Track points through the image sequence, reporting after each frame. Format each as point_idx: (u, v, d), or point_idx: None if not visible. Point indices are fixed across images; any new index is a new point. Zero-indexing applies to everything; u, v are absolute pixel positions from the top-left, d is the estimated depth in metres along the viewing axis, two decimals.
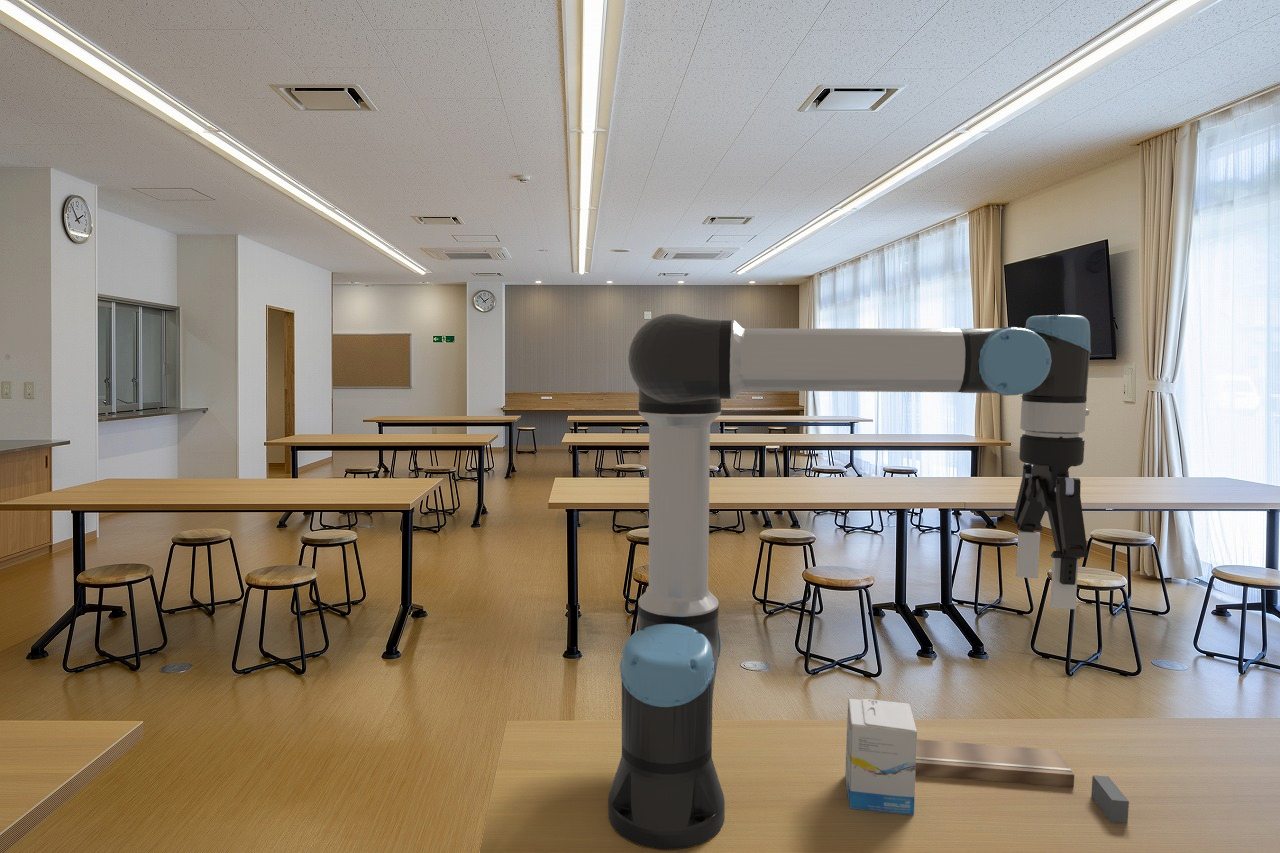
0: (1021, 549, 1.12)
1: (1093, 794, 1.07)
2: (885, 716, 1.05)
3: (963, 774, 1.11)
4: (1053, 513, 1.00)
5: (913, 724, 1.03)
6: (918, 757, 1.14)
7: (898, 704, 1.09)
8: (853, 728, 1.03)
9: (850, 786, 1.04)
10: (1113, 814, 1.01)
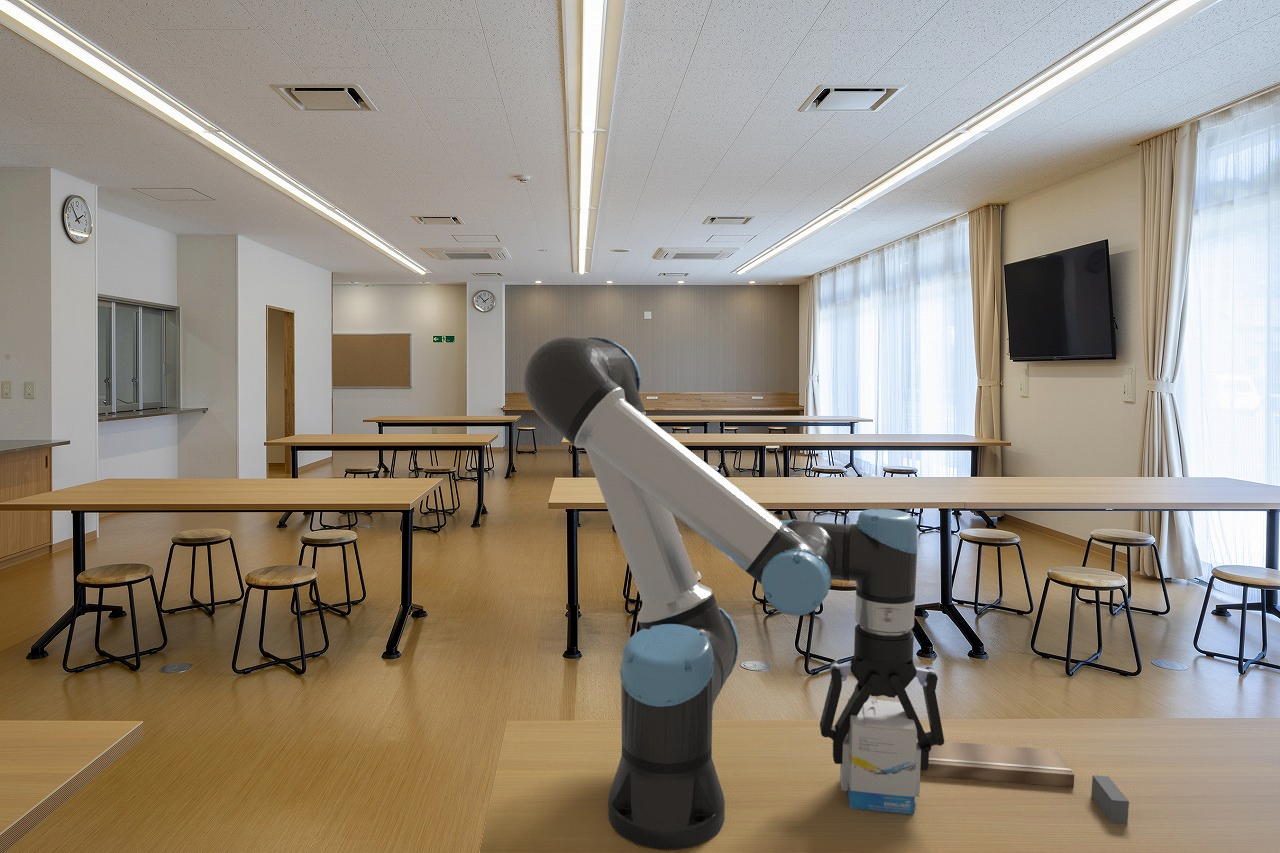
0: None
1: (1093, 794, 1.07)
2: (885, 716, 1.05)
3: (963, 774, 1.11)
4: (851, 696, 1.08)
5: (913, 724, 1.03)
6: None
7: (898, 704, 1.09)
8: (853, 728, 1.03)
9: (850, 786, 1.04)
10: (1113, 814, 1.01)
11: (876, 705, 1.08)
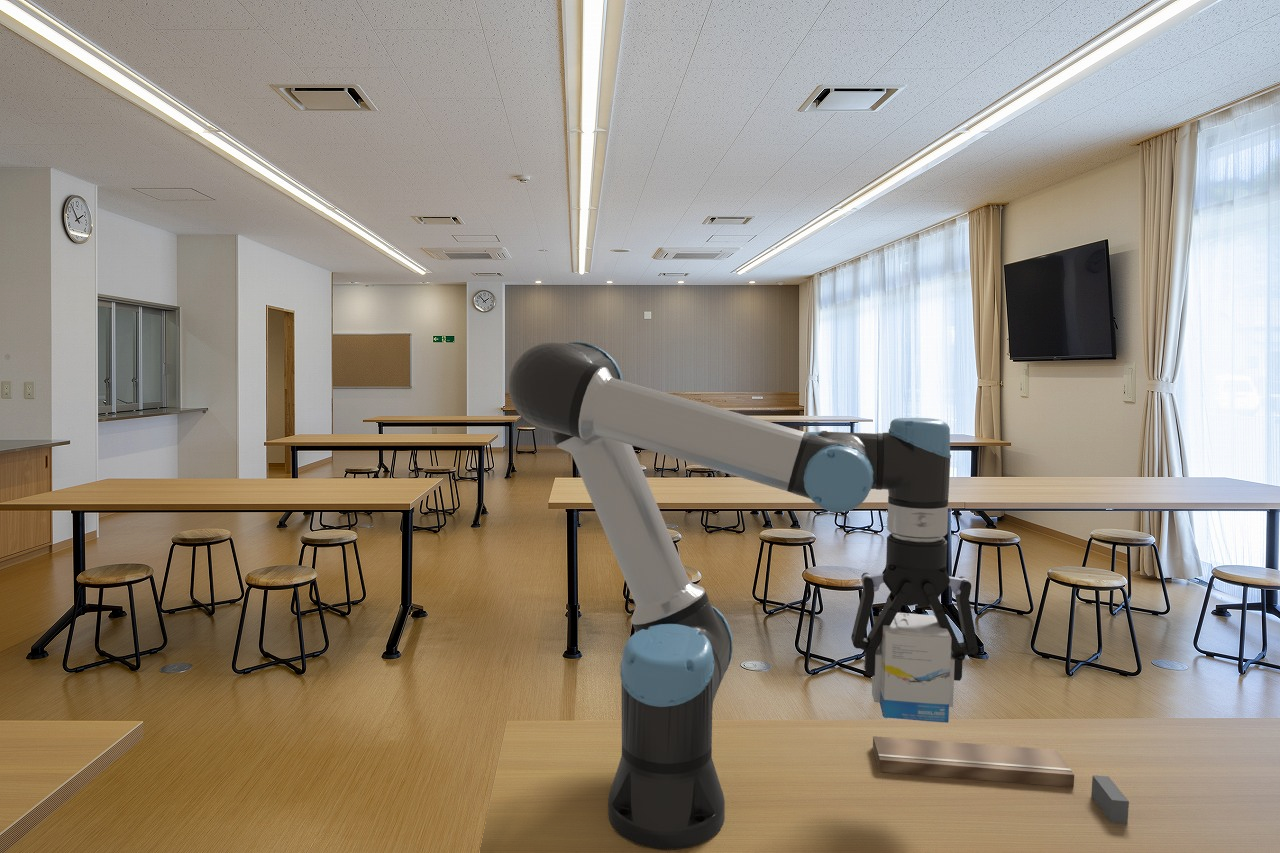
0: None
1: (1093, 794, 1.07)
2: (918, 625, 1.04)
3: (963, 774, 1.11)
4: (883, 608, 1.07)
5: (947, 631, 1.03)
6: (918, 757, 1.14)
7: (930, 616, 1.08)
8: (886, 636, 1.02)
9: (883, 695, 1.03)
10: (1113, 814, 1.01)
11: (908, 617, 1.08)
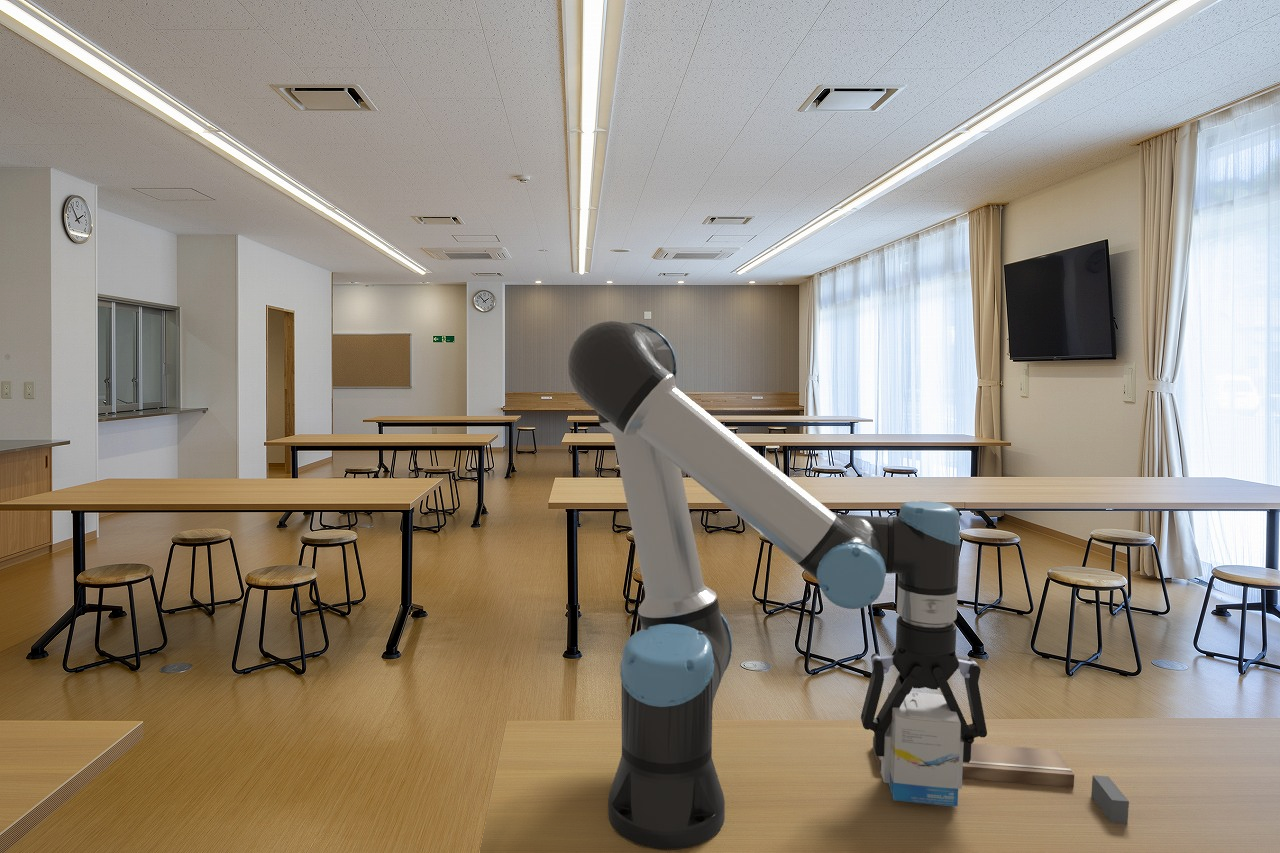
0: None
1: (1093, 794, 1.07)
2: (927, 708, 1.05)
3: (963, 774, 1.11)
4: (893, 688, 1.08)
5: (956, 716, 1.03)
6: None
7: (939, 696, 1.09)
8: (896, 720, 1.03)
9: (893, 778, 1.04)
10: (1113, 814, 1.01)
11: (917, 697, 1.08)
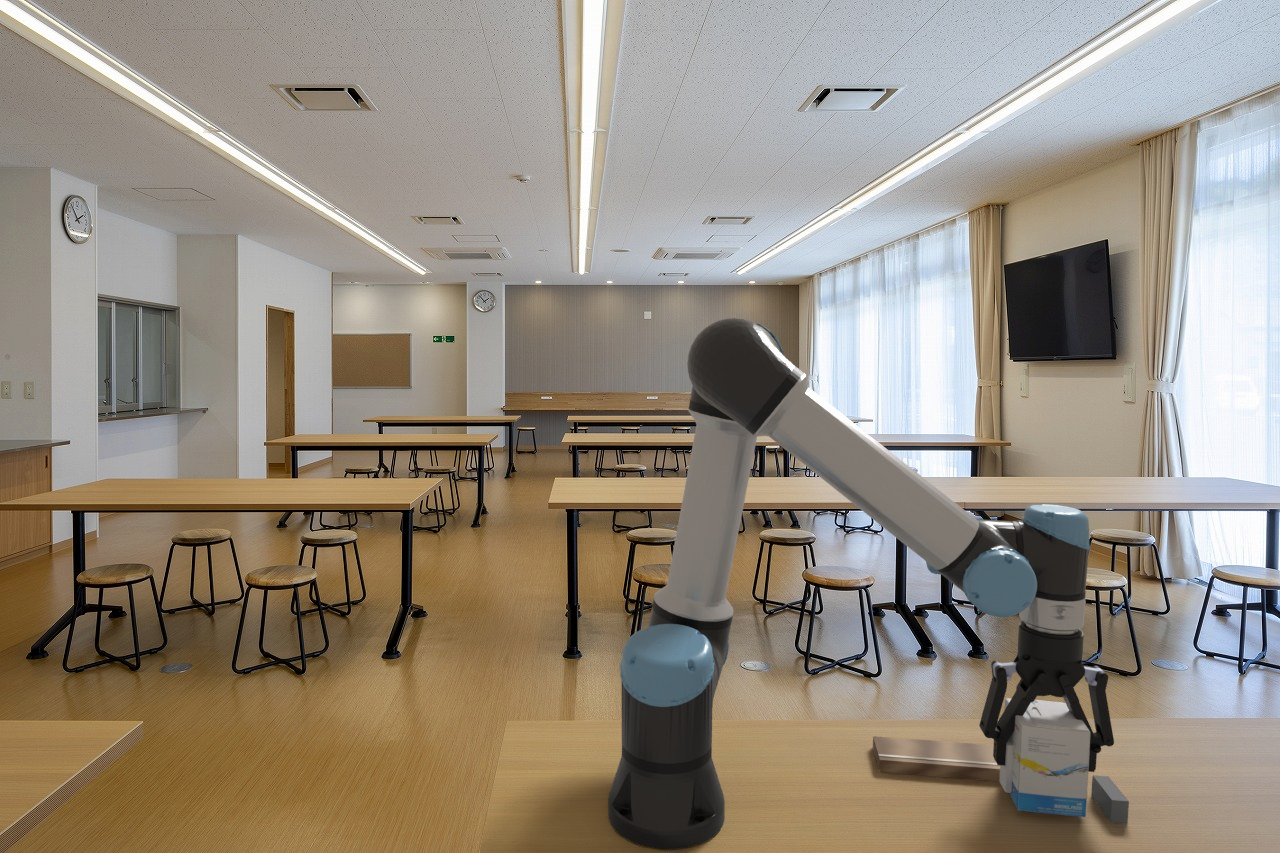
0: None
1: (1093, 794, 1.07)
2: (1052, 716, 1.03)
3: (963, 774, 1.11)
4: (1013, 696, 1.05)
5: (1083, 724, 1.01)
6: (918, 757, 1.14)
7: (1059, 704, 1.07)
8: (1023, 728, 1.01)
9: (1018, 787, 1.02)
10: (1113, 814, 1.01)
11: (1038, 705, 1.06)
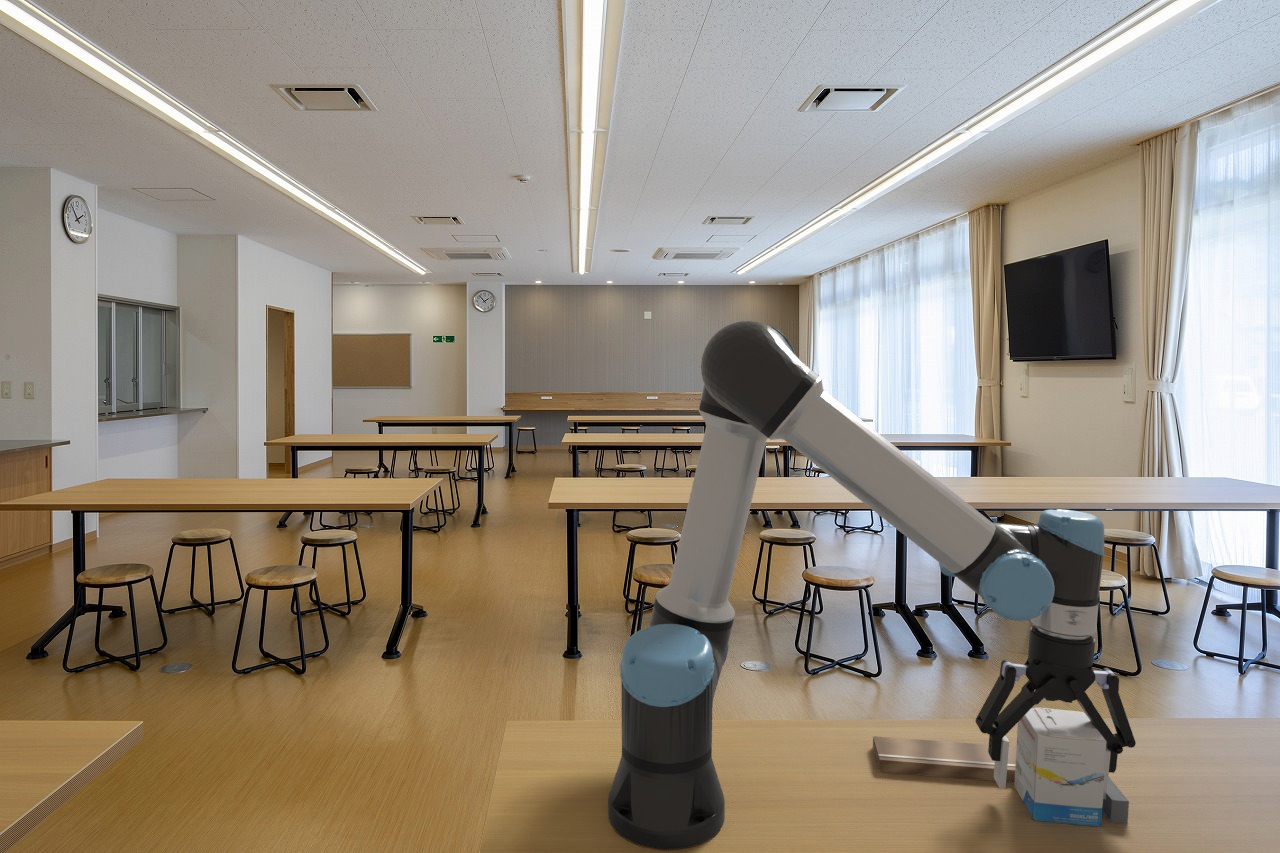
0: None
1: None
2: (1067, 725, 1.03)
3: (963, 774, 1.11)
4: (1017, 696, 1.05)
5: (1099, 733, 1.01)
6: (918, 757, 1.14)
7: (1073, 712, 1.07)
8: (1039, 738, 1.01)
9: (1034, 797, 1.01)
10: (1113, 814, 1.01)
11: (1052, 714, 1.06)
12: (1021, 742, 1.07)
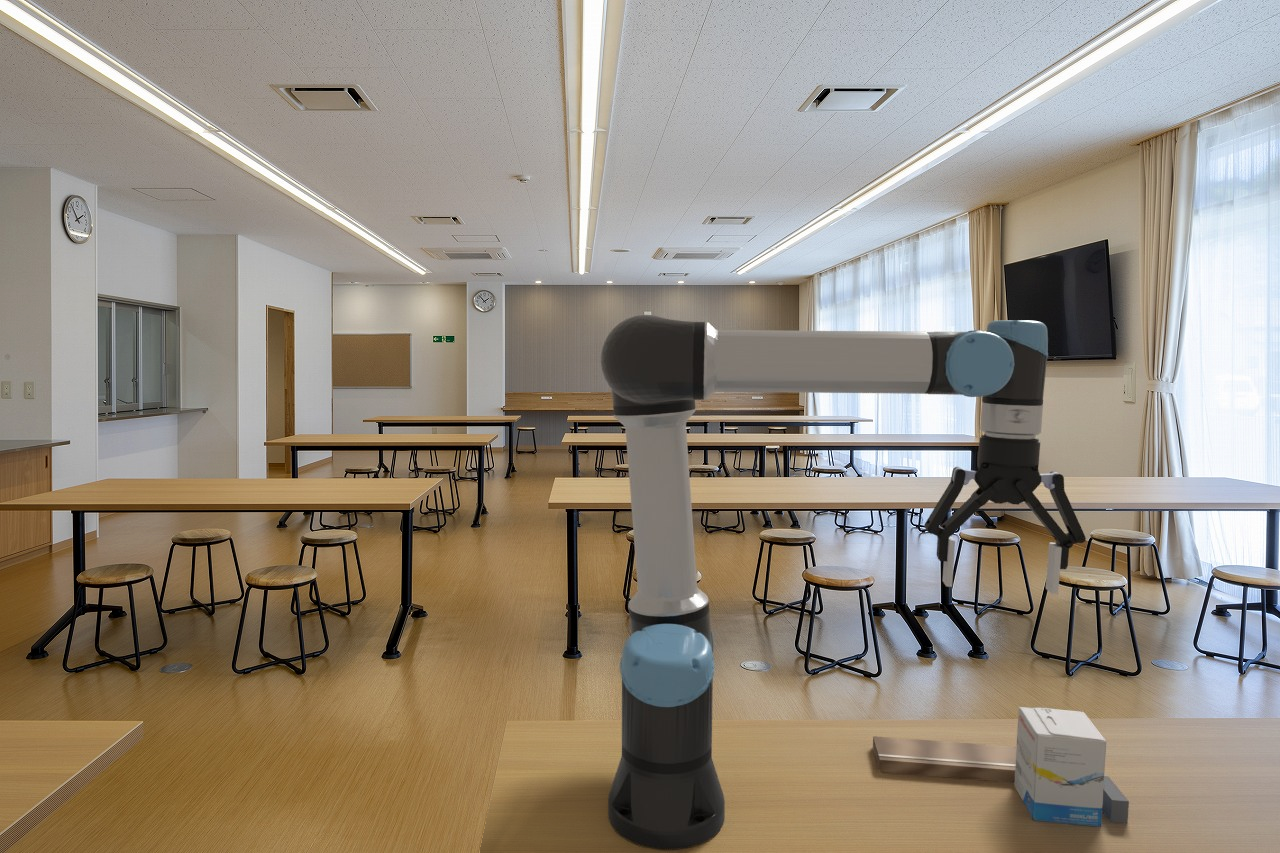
0: (1048, 560, 1.09)
1: None
2: (1067, 725, 1.03)
3: (963, 774, 1.11)
4: (966, 501, 1.10)
5: (1099, 733, 1.01)
6: (918, 757, 1.14)
7: (1073, 712, 1.07)
8: (1038, 738, 1.01)
9: (1034, 797, 1.01)
10: (1113, 814, 1.01)
11: (1052, 714, 1.06)
12: (1021, 742, 1.07)
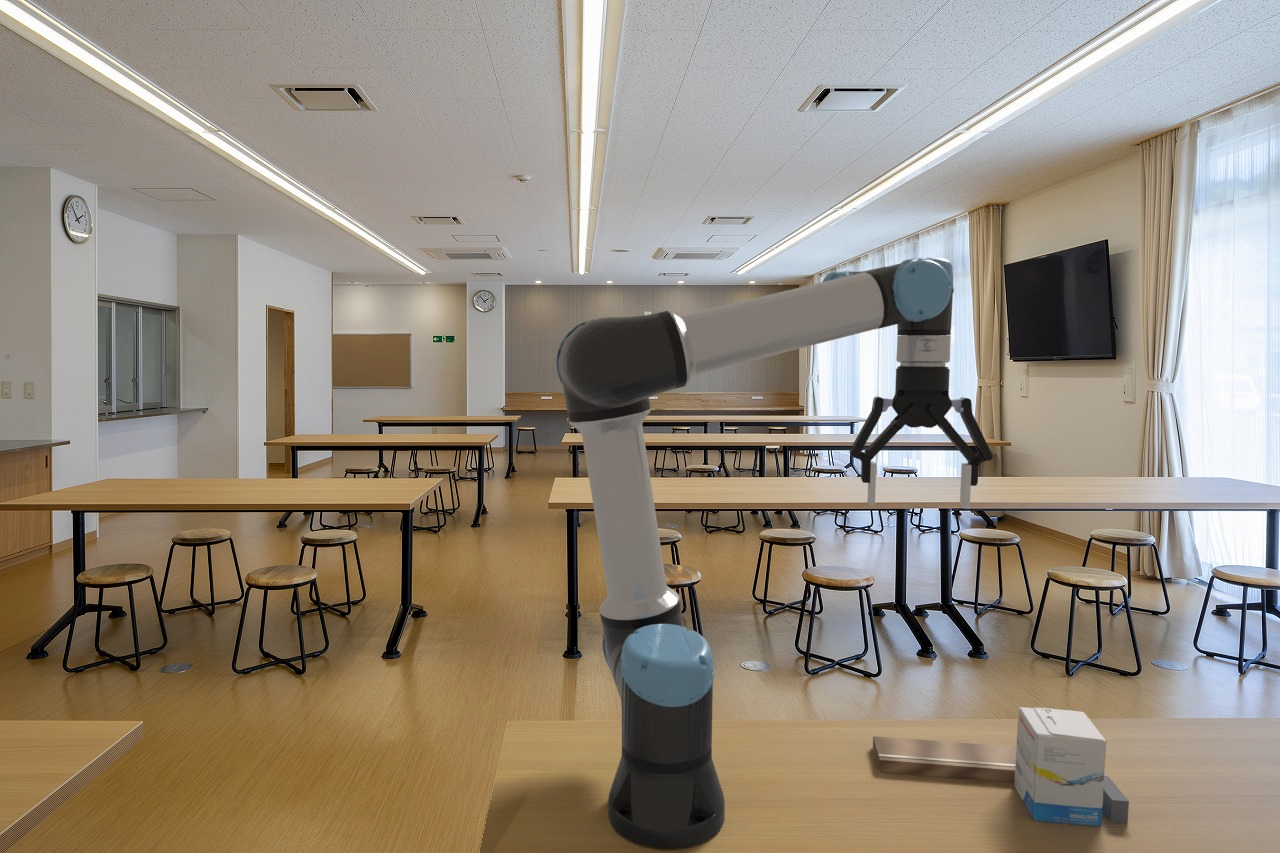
0: (961, 479, 1.19)
1: None
2: (1067, 725, 1.03)
3: (963, 774, 1.11)
4: None
5: (1099, 733, 1.01)
6: (918, 757, 1.14)
7: (1073, 712, 1.07)
8: (1038, 738, 1.01)
9: (1034, 797, 1.01)
10: (1113, 814, 1.01)
11: (1052, 714, 1.06)
12: (1021, 742, 1.07)
